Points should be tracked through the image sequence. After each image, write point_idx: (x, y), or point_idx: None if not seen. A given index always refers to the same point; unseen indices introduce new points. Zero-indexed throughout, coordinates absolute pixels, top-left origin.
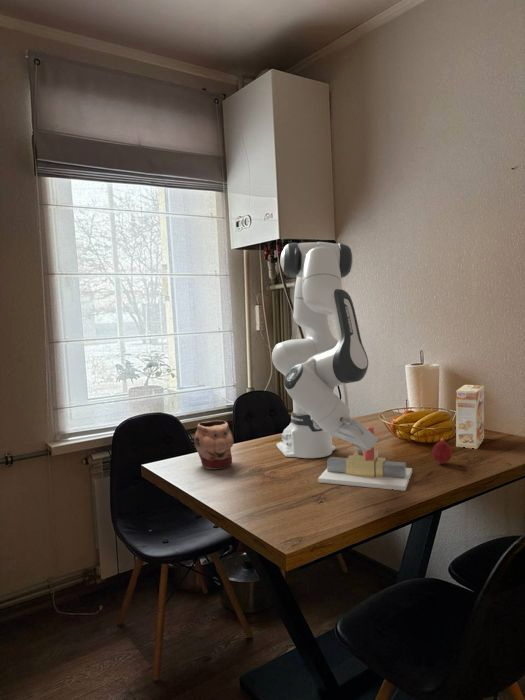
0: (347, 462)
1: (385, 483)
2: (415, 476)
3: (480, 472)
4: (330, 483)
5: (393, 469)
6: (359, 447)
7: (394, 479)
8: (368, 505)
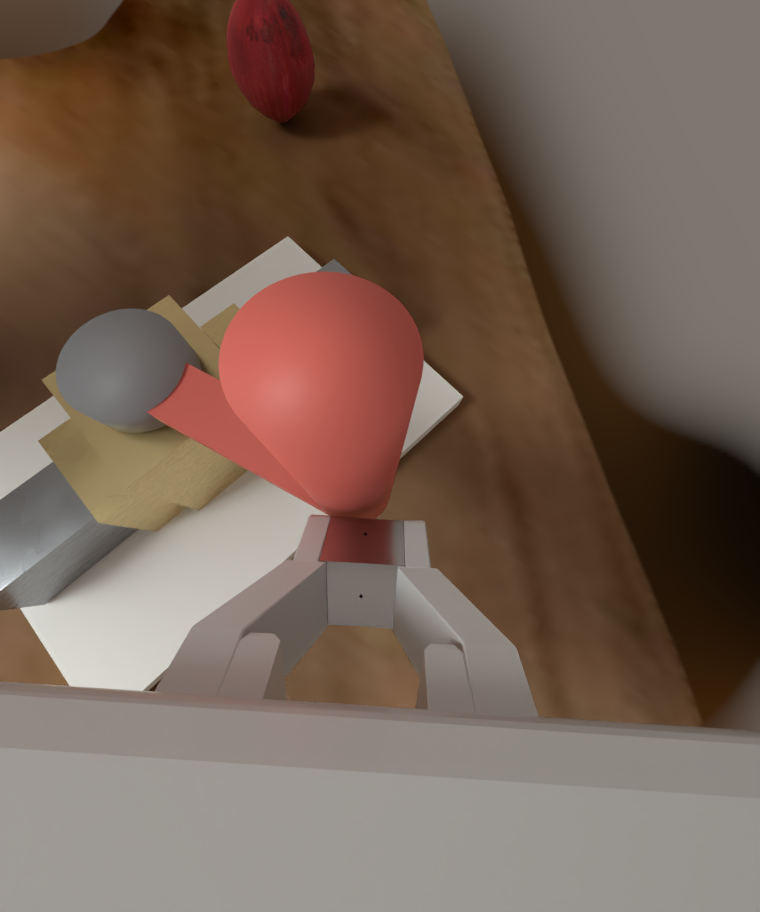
0: (119, 517)
1: None
2: None
3: (425, 94)
4: None
5: None
6: (369, 624)
7: None
8: (543, 665)
